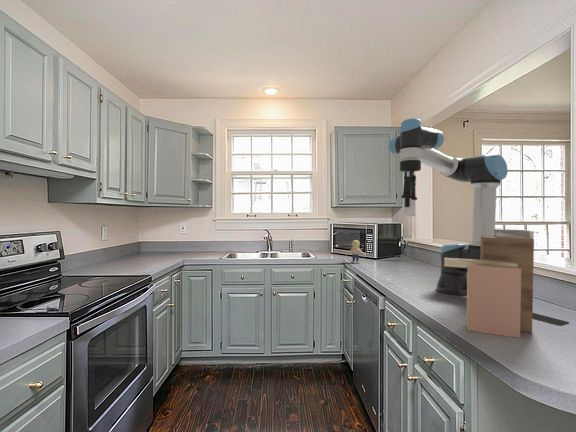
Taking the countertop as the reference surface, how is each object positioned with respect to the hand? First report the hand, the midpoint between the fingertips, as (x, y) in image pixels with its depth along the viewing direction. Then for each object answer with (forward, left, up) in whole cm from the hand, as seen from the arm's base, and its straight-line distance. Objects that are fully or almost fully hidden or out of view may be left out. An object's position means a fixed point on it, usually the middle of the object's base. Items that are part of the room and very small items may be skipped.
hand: (409, 216), depth 123 cm
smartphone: (-16, +44, -37) cm, 60 cm away
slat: (+7, +23, -17) cm, 29 cm away
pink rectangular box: (+7, +26, -37) cm, 46 cm away
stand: (-2, +31, -37) cm, 48 cm away
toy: (-110, -50, -37) cm, 126 cm away
